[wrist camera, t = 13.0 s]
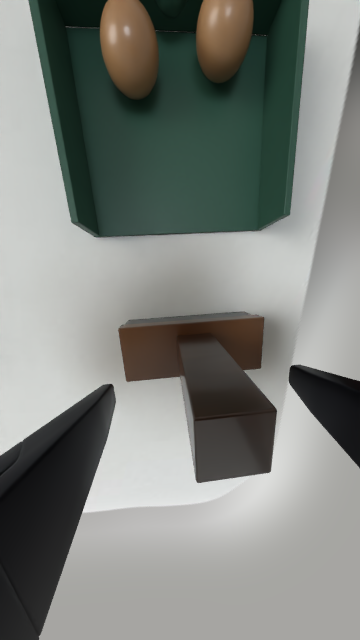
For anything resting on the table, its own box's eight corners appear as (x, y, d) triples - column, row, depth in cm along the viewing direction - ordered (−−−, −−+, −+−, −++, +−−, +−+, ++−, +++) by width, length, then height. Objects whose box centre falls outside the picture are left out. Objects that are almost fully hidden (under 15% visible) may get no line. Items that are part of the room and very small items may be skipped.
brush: (243, 309, 15) (409, 370, 5) (242, 351, 16) (376, 475, 6) (128, 317, 14) (36, 410, 4) (134, 361, 15) (72, 522, 5)
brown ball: (277, -6, 8) (247, 88, 11) (245, -61, 8) (224, 48, 11) (222, 16, 7) (207, 106, 10) (189, -41, 7) (183, 65, 10)
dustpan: (260, 230, 13) (290, 214, 10) (94, 237, 12) (71, 222, 9) (284, -218, 8) (355, -516, 5) (12, -260, 7) (-98, -649, 4)
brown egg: (170, 51, 8) (168, 93, 11) (133, -63, 7) (141, 18, 9) (119, 91, 9) (129, 122, 11) (74, -8, 7) (98, 55, 10)
